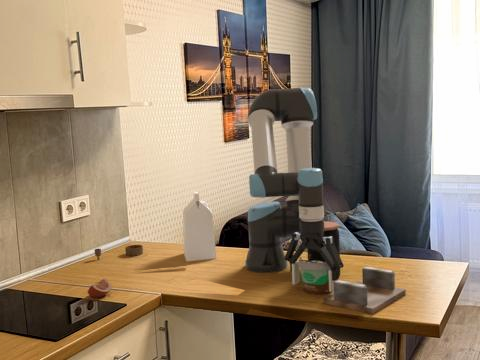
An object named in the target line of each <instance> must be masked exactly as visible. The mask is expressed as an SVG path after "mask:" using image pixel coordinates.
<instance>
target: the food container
mask: <svg viewBox="0 0 480 360" xmlns="http://www.w3.org/2000/svg"><path fill="white" fill-rule="evenodd" d="M298 262H299V263H298V266H299V269H300V273H301V281H302V282H301V283H302V290H304V291H303V292H304V293H306V294H308V293H309V294H308V295H314V296H315V295H319V296H321V295H327V294H330V293H331V294H332V292H329V270H331V269H330V267H329V266H328V264H327V263H326V262H323V261H319V260H312V261H309V260H308V259H307V260H306V259H302V257H301V256H300V257H299V259H298Z"/></svg>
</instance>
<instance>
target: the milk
mask: <svg viewBox="0 0 480 360" xmlns="http://www.w3.org/2000/svg"><path fill="white" fill-rule="evenodd" d="M208 206H209V204H208V202H206V201H205V200H200V195H199V192H198V191H193V199H192V200H190V202H189V203H188V204H187V205H186V206H185V207H184V209H183V210H182V222H183V223H182V224H183V225H182V227H183V228H182V229H183V230H182V231H183V255H184V258H185V261H186V262H195V261H206V260H216V259H217V249H216V238H215V225H214V216H213V212H212V210H211V208H209V207H208Z"/></svg>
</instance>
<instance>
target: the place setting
mask: <svg viewBox="0 0 480 360" xmlns="http://www.w3.org/2000/svg"><path fill="white" fill-rule="evenodd" d="M124 249H125V254H126V256H128V257H135V259H138V258H139V259H140V256H141V258H143V257H146V256H147V254H146V255H143V253H144V248H143V245H142V244H131V245H127V246H125V247H124ZM94 255H95V257H96V258H97V261H100V260H101V259H100V257H101V255H102V248H95V249H94ZM142 255H143V256H142ZM136 256H138V257H136ZM121 258H122V259H125V257H123V256H122V257H121Z"/></svg>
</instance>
